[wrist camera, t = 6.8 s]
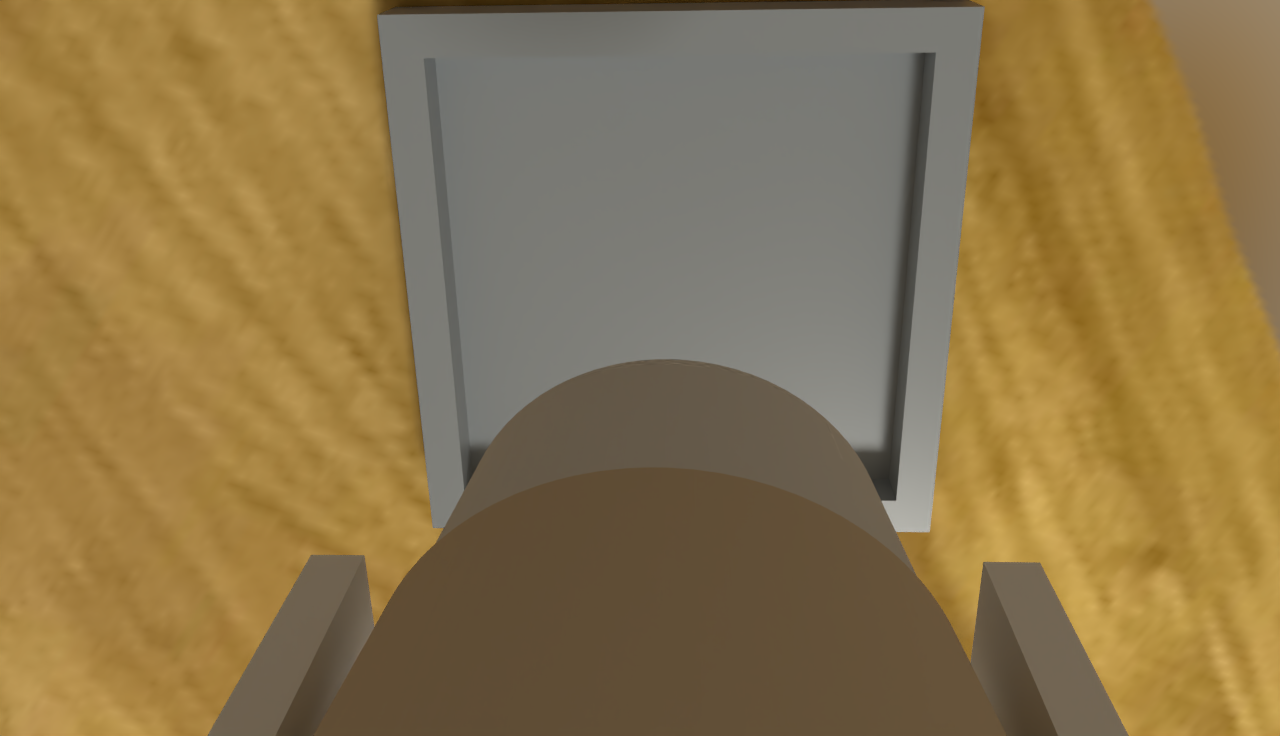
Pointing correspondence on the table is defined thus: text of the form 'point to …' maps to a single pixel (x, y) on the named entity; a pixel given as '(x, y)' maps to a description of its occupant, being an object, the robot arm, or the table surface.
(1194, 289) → the table surface
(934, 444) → the tray
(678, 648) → the coffee cup
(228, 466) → the table surface
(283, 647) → the robot arm
